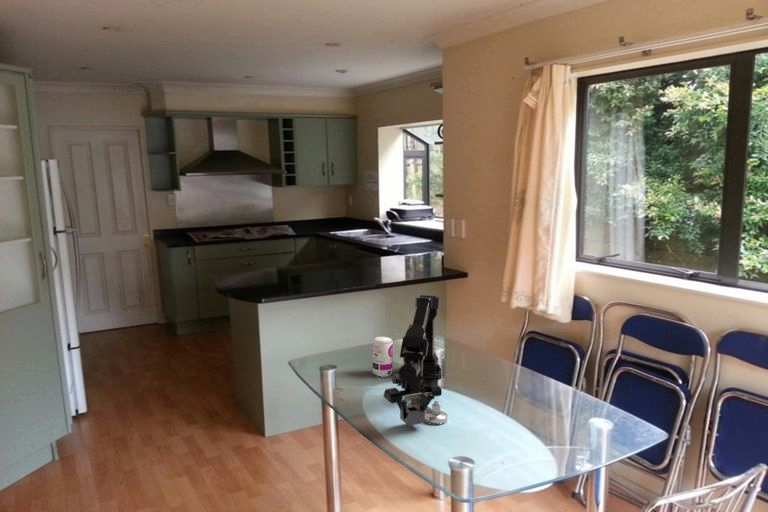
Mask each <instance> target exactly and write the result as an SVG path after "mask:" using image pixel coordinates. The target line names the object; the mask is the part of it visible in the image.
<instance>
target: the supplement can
mask: <svg viewBox="0 0 768 512" xmlns="http://www.w3.org/2000/svg"><path fill="white" fill-rule="evenodd" d="M393 352H394V341H393V339H392V338H391V337H390V336H377V337H374V339H373V341H372V374H373V375H374V374H375V375H377V376H376V377H378V376H381V377H380V378H387V377H390V376H391V375H393V363H394V362H393V360H394V359H393V357H394V353H393ZM375 375H374V376H375Z"/></svg>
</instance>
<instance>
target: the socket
mask: <svg viewBox="0 0 768 512" xmlns="http://www.w3.org/2000/svg"><path fill="white" fill-rule="evenodd" d="M399 414H400V415H399V416H400V417H399V419H400V420H401V421H402V422H403V423H405V424H406V425H407V427H409V426H416V425H419V424H420V425H421V424H425V423H426V422H425V411H424V410H423V409H422V408H420V407H419V406H418V405H417V404H416V405H412V404H410V405H407V406H406V416H405V419H403V418H402V415H401V412H400V413H399Z"/></svg>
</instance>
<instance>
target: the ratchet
mask: <svg viewBox="0 0 768 512" xmlns="http://www.w3.org/2000/svg"><path fill="white" fill-rule="evenodd" d="M433 401H434V400H433ZM416 404H417V405H418V406H419V407H420V397H413V398H411V399H410V405H416ZM425 421H426V422H425V423H427V424H429V423H431V424H430V425H433V424H440V423H444V422H446V421H447V422H448V414H447V412H445V411H443V410H441V405H440V404H439V401H438V400H435V401H434V403H432V405H431V407H429V405H428V406H427V408H426V410H425ZM447 422H446V423H447Z"/></svg>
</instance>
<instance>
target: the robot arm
mask: <svg viewBox="0 0 768 512" xmlns="http://www.w3.org/2000/svg"><path fill="white" fill-rule="evenodd" d="M441 301H442V300H441V299H440V297H438V295H427V294H420V296H418V297H415V302H414V303H415V305H414V307H415V308H416V309H415V312H414V317H413V321H412V323H413V324H412V323H411V324H412V327H411V328H409V329H408V328H407V329H408V330H407V329H406V332H405V334H404V336H403V337H402V339H401V340H402V342H401V347H400V355H399V358H402V359H403V358H405V360H404V363H402V365H401V366H400V368H399V370H398V373H396V374H395V373H394V374H391V375H392V376H391V380H392V384H393V385H397V387H401V389H403V390H399V389H398V388H396V387H391V388H386V389H385V390H384V392H383V398H384V399H386V400H387V401H388V402H389V403H390V404H396V405H397V406H398V408H399V411H400V412H401V415H402V418H403V419H405V416H406V406H408V404H407V403H408V402H407V401H406V399H405V397H409V396H415V395H416V396H417V395H419V398H420V408H422V409H423V410H424V411H425V410H426V408H427V406H428V407H429V405H430V404H431V402H432V401H433V400H435V397H440V396H442V393H443V389H442V387H441V386H440V385H438V383H439V381H440V380H442V378H443V377H442V375H443V373H442V368H441V364H439V358H438V356H437V355H436V352H435V353H434V342H435V318H436V317H437V315H438V313H439V310H441V305H442V304H441V303H442V302H441ZM404 349H405V350H406V351H409V352H404ZM403 353H404V354H403Z"/></svg>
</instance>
